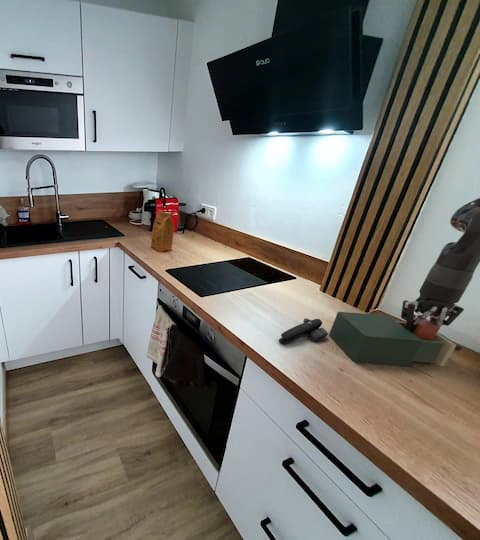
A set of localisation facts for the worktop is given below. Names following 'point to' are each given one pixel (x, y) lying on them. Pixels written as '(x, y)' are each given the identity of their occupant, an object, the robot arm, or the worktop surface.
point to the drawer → (435, 349)
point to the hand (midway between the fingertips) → (417, 334)
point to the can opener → (304, 331)
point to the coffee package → (162, 232)
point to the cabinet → (374, 339)
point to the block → (426, 330)
